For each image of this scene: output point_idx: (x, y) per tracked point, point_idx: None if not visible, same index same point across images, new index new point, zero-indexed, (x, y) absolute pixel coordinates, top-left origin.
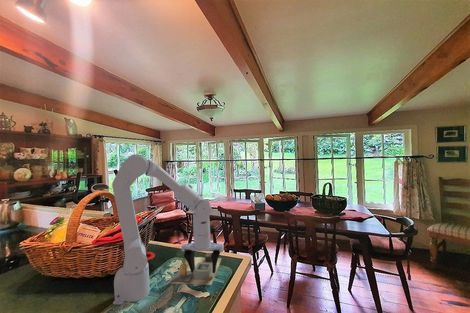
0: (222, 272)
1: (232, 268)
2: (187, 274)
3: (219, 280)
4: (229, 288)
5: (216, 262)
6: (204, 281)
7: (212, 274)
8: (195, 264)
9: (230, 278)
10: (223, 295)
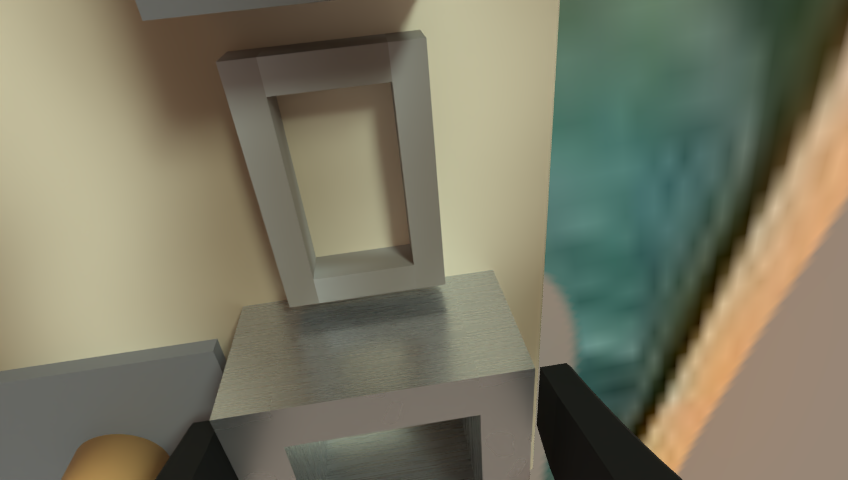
0: (608, 181)
1: (777, 33)
2: (157, 437)
3: (584, 338)
4: (690, 408)
5: (644, 465)
6: None
7: None
8: (23, 130)
9: (714, 281)
10: None
